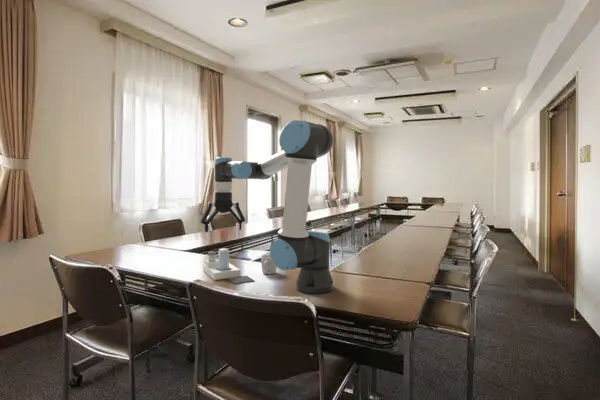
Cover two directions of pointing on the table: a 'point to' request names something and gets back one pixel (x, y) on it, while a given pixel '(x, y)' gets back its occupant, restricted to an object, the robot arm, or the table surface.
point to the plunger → (212, 256)
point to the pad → (240, 279)
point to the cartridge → (223, 259)
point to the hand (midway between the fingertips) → (223, 238)
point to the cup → (268, 265)
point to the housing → (213, 272)
